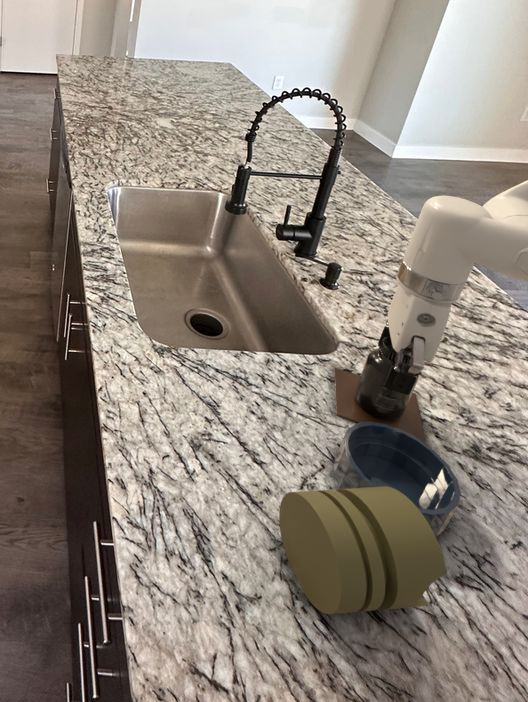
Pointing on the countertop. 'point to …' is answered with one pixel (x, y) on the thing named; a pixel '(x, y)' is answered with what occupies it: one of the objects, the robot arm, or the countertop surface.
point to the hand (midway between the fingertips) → (392, 368)
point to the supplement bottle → (381, 384)
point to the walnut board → (355, 412)
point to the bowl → (398, 469)
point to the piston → (359, 549)
